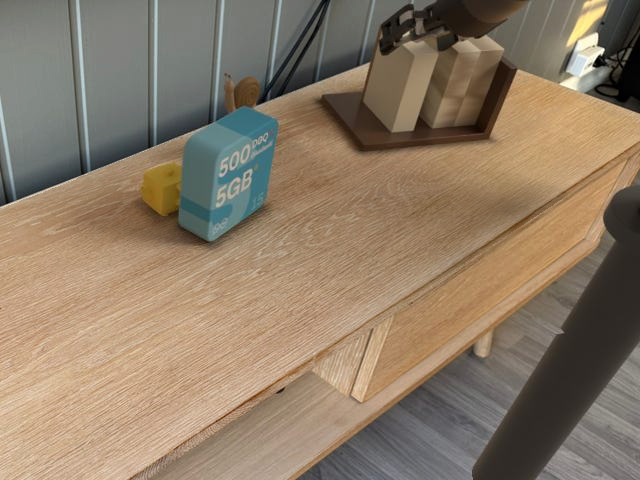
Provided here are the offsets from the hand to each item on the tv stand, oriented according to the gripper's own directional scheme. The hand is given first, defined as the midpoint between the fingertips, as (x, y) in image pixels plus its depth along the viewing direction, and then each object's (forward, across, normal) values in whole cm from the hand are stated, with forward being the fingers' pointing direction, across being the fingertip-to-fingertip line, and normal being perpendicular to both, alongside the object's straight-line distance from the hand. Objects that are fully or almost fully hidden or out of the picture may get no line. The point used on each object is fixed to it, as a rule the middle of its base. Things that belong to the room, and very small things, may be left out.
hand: (411, 46), depth 95 cm
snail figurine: (+6, +24, +11) cm, 27 cm away
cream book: (+9, -1, +6) cm, 11 cm away
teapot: (-1, +37, +18) cm, 41 cm away
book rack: (+10, -4, +7) cm, 12 cm away
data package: (-4, +31, +20) cm, 37 cm away
